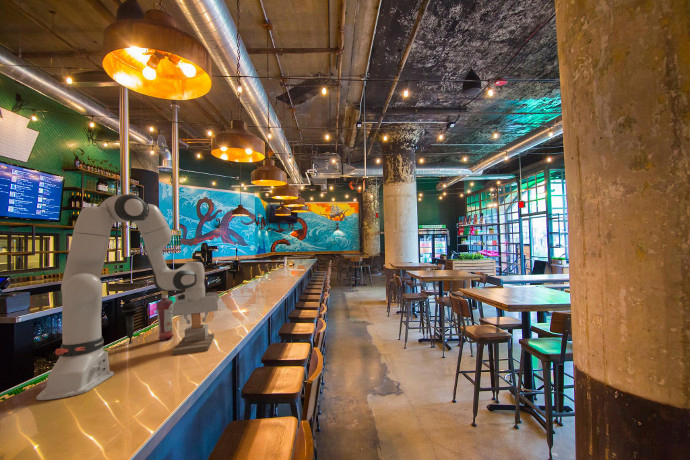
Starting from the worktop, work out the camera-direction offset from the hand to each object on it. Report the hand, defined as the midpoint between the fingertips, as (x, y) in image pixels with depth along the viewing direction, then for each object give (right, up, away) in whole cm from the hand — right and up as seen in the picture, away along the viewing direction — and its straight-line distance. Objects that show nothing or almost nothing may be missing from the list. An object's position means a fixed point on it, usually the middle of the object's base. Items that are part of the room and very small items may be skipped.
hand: (196, 322), depth 155 cm
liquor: (-20, -11, +9) cm, 24 cm away
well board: (+2, -9, -5) cm, 11 cm away
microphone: (-35, -12, +4) cm, 37 cm away
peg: (0, -8, 0) cm, 8 cm away
